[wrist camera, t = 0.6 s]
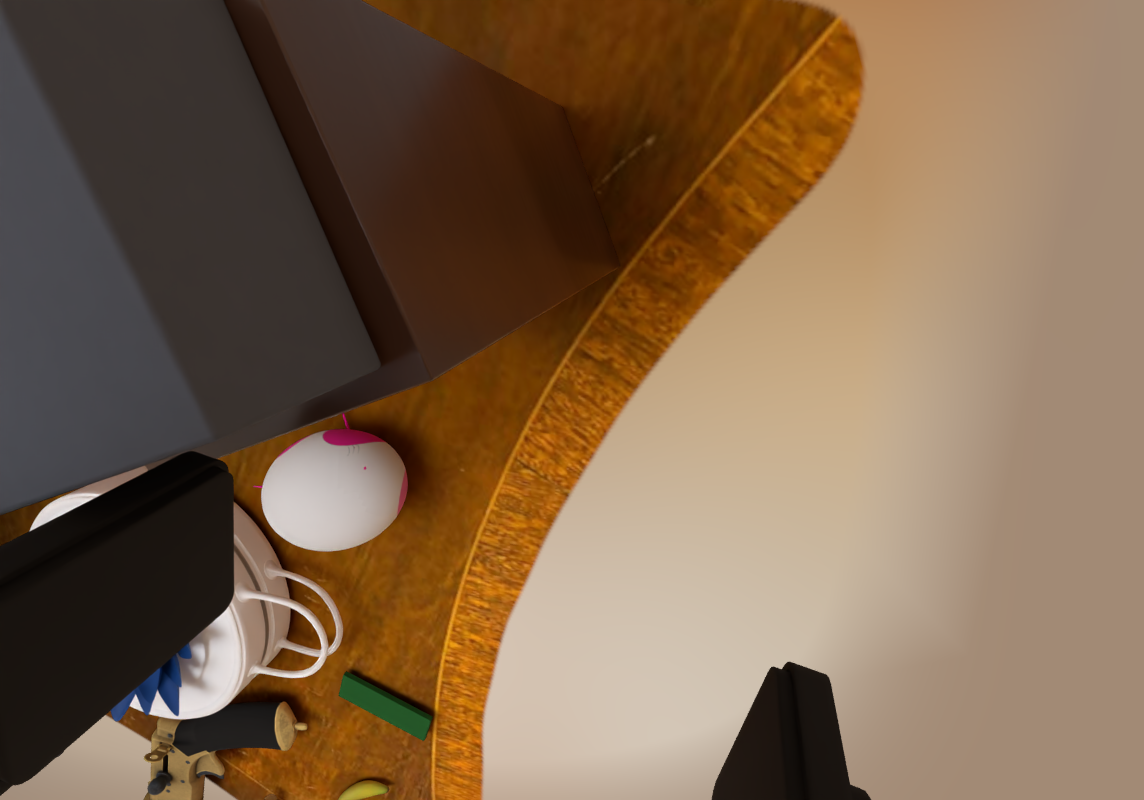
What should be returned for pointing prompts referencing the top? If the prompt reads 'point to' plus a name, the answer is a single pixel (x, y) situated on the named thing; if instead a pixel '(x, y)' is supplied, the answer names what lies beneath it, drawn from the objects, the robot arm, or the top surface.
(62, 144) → the loose pad
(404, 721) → the green plastic strip
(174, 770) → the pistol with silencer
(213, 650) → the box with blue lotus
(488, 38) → the top surface
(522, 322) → the stand
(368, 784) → the fruit
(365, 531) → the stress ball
